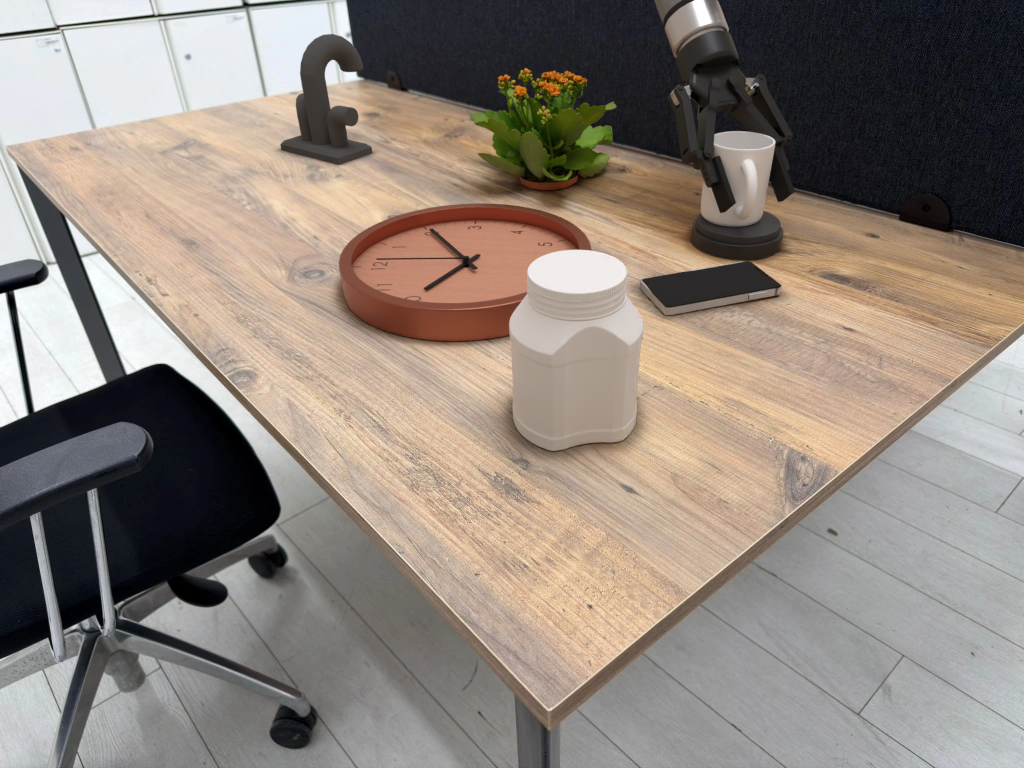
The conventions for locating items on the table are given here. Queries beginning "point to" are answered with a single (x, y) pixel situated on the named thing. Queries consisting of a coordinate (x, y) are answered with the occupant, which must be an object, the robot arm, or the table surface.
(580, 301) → the jar
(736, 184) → the mug
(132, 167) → the table surface
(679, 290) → the smartphone
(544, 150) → the potted flower
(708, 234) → the stand
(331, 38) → the faucet
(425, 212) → the clock
